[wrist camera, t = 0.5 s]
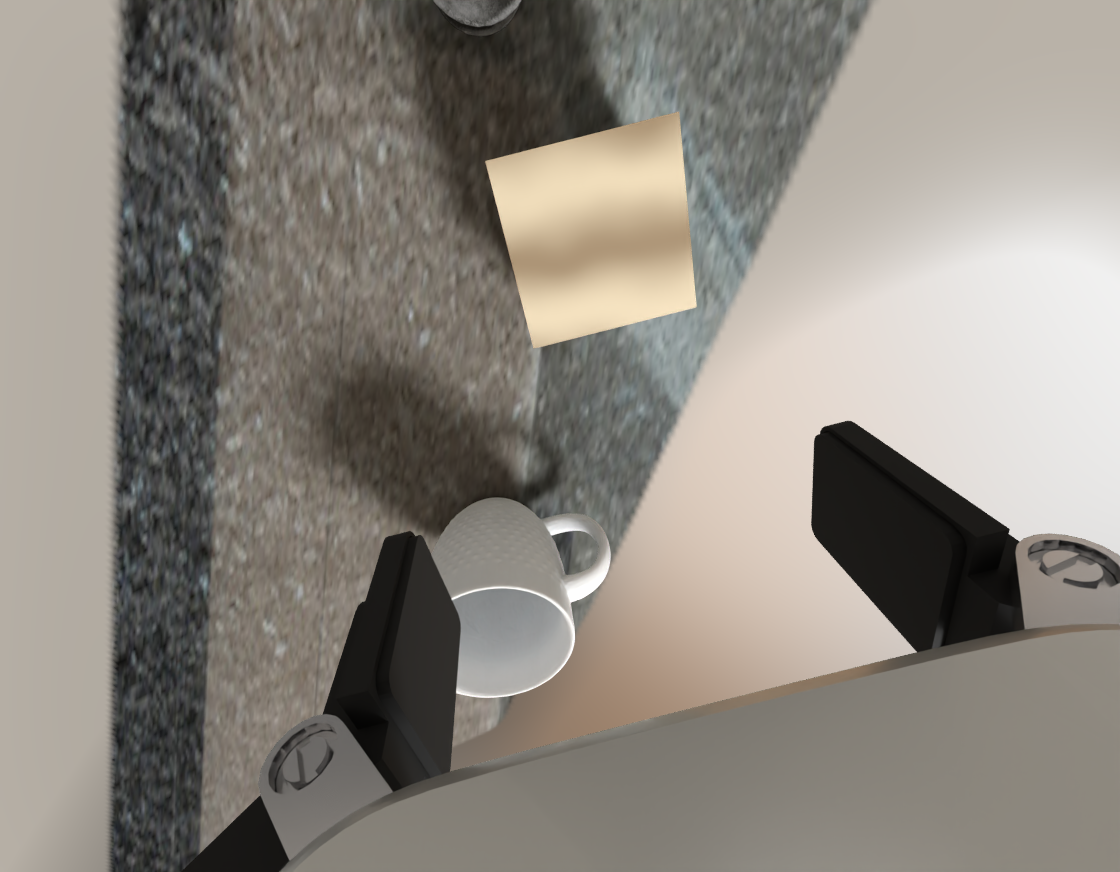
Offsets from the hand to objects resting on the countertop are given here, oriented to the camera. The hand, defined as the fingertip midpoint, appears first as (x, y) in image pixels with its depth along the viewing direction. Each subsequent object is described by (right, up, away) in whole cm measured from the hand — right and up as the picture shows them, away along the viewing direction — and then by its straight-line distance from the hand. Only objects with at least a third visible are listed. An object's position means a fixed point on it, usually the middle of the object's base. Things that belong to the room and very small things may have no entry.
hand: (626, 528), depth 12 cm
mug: (-6, -6, +34) cm, 35 cm away
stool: (0, +17, +23) cm, 28 cm away
